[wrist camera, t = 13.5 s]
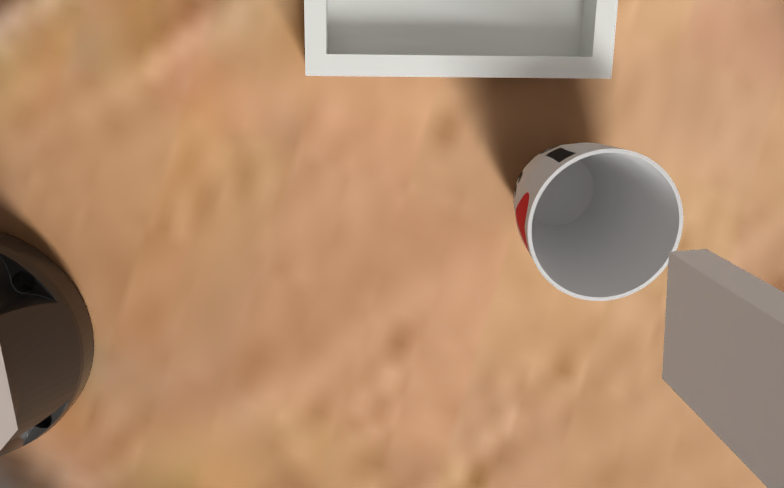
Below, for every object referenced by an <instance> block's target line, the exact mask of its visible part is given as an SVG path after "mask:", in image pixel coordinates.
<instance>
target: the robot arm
mask: <svg viewBox="0 0 784 488" xmlns="http://www.w3.org/2000/svg"><path fill="white" fill-rule="evenodd" d="M93 354H94V339H93V331H92V325H91V321H90V318H89V314H88V312H87V309H86V307H85V304H84V302H83V300H82V298H81V296H80V294H79V293H78V291H77V289H76V288H75V286H74V285H73V283H72V282H71V281H70V279H69V278H68V277H67V276H66V274H65V273H64V272H63V271H62V270H61V269H60V268H59V267H58V266H57V265H56V264H55V263H54V262H53V261H52V260H50V259H49V258H48V257H47V256H45V255H44V254H43V253H41V252H40V251H39V250H37V249H35V248H34V247H32V246H31V245H29V244H27V243H25V242H23V241H21V240H19V239H17V238H15V237H12V236H10V235H7V234H4V233H1V232H0V456H1V455H4V454H6V453H8V452H10V451H13V450H15V449H17V448H20V447H22V446H24V445H26V444H28V443H30V442H32V441H34V440H35V439H37V438H39V437H40V436H42V435H43V434H44V433H46V432H47V431H48V430H50V429H51V428H52V427H53V426H54V425H55V424H56V423H57V422H58V421H59V420H60V419H61V418H62V417H63V416H64V414H65V413H66V412H67V411H68V410H69V408H70V407H71V406H72V405H73V403H74V402H75V401H76V400H77V398H78V397H79V395H80V394H81V392H82V390H83V389H84V387H85V384H86V382H87V380H88V377H89V375H90V371H91V367H92V362H93ZM662 379H663V380H664V381H665V382H666V383H667V384H668V385H669V386H670V387H671V388H672V389H673V390H674V391H675V392H676V393H677V394H678V395H679V396H680V397H681V398H682V400H683V401H684V402H685V403H686V404H687V405H688V406H689V407H690V408H691V409H692V410H693V411H694V412H695V413H696V414H697V415H698V416H699V417H700V418H701V419H702V420H703V421H704V422H705V423H706V424H707V425H708V426H709V427H710V429H711V430H712V431H713V432H714V433H715V434H716V435H717V436H718V437H719V438H720V439H721V440H722V441H723V442H724V443H725V444H726V445H727V446H728V447H729V448H730V449H731V450H732V451H733V452H734V453H735V454H736V455H737V456H738V458H739V459H740V460H741V461H742V462H743V463H744V464H745V465H746V466H747V467H748V468H749V469H750V470H751V471H752V472H753V473H754V474H755V475H756V476H757V477H758V478H759V479H760V480H761V481H762V482H763V483H764V484H765V485H766V487H767V488H784V292H782V291H781V290H779V289H777V288H775V287H773V286H772V285H770V284H768V283H766V282H764V281H763V280H761V279H759V278H757V277H755V276H754V275H752V274H750V273H748V272H747V271H745V270H743V269H741V268H739V267H738V266H736V265H734V264H732V263H730V262H729V261H727V260H725V259H723V258H721V257H720V256H718V255H716V254H714V253H713V252H711V251H709V250H707V249H701V250H686V251H672V252H669V260H668V279H667V298H666V316H665V335H664V354H663V373H662Z"/></svg>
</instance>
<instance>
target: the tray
mask: <svg viewBox="0 0 784 488" xmlns="http://www.w3.org/2000/svg"><path fill="white" fill-rule="evenodd" d="M617 7H618V0H304V23H305V74H306V76H389V77H491V78H593V79H611V75H612V64H613V52H614V41H615V30H616V18H617Z"/></svg>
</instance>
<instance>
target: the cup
mask: <svg viewBox="0 0 784 488" xmlns="http://www.w3.org/2000/svg"><path fill="white" fill-rule="evenodd" d="M514 210H515V215H516V221H517V227H518V230H519V234H520V236H521V239H522V241H523V242H524V244H525V246H526V248H527V250H528V252H529V253H530V255H531V257H532V259H533V261H534V262H535V264H536V266H537V268H538V269H539V271H540V272H541V274H542V275H543V276H544V277H545V278H546V279H547V280H548V281H549V282H550V283H551V284H552V285H553V286H554V287H556V288H557V289H559V290H560V291H562V292H564V293H566V294H568V295H570V296H573V297H576V298H579V299H584V300H591V301H607V300H613V299H618V298H622V297H625V296H628V295H630V294H632V293H635V292H637V291H638V290H640V289H642V288H644V287H645V286H647V285H648V284H649V283H651V282H652V281H653V280H654V279H655V278H656V277H657V276H659V274H660V273H661V272H662V271H663V270H664V269H665V268H666V266H667V265H668V260H669V252H672V251H676V249H677V247H678V244H679V241H680V238H681V233H682V227H683V209H682V203H681V199H680V196H679V193H678V190H677V188H676V186H675V184H674V182H673V181H672V179H671V178H670V176H669V175H668V174H667V173H666V171H665V170H664V169H663V168H662V167H661V166H659V165H658V164H657V163H656V162H654V161H653V160H651V159H650V158H648V157H646V156H644V155H642V154H639V153H636V152H633V151H629V150H625V149H621V148H616V147H612V146H608V145H603V144H599V143H575V144H564V145H558V146H555V147H551V148H549V149H547V150H545V151H543V152H541V153H539V154H538V155H537V156H535V157H534V158H533V159H532V160H531V161H530V162H529V163H528V164H527V165H526V166H525V168H524V169H523V171H522V172H521V174H520V176H519V178H518V180H517V183H516V186H515V190H514Z"/></svg>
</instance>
